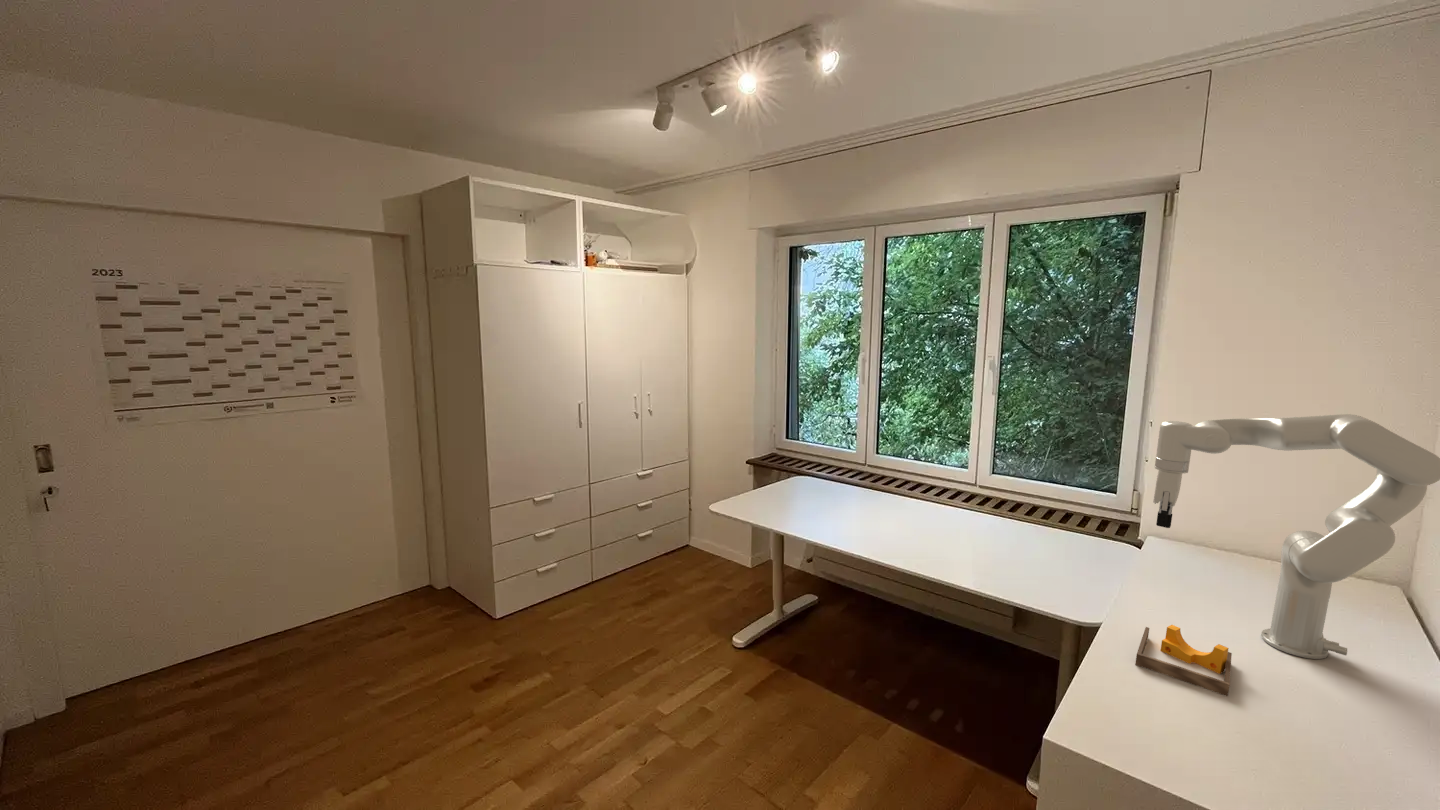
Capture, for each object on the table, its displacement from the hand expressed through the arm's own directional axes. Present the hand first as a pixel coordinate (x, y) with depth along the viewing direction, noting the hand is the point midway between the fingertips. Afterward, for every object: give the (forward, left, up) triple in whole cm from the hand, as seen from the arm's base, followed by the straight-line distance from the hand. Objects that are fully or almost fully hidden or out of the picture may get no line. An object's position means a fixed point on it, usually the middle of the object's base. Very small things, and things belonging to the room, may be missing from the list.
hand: (1163, 526), depth 163 cm
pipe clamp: (-11, +22, -28) cm, 37 cm away
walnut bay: (-9, +25, -27) cm, 38 cm away
